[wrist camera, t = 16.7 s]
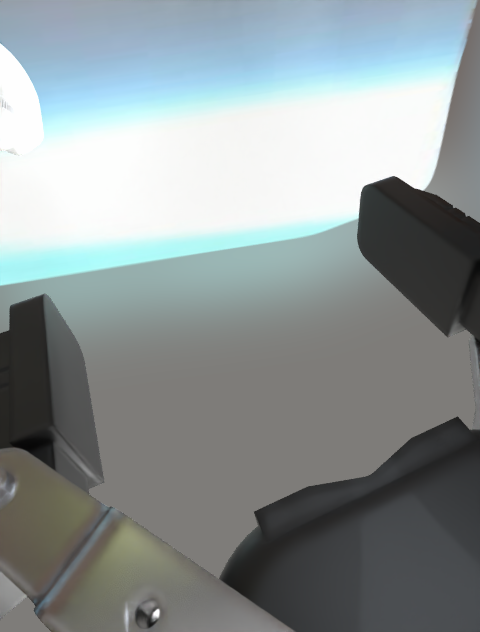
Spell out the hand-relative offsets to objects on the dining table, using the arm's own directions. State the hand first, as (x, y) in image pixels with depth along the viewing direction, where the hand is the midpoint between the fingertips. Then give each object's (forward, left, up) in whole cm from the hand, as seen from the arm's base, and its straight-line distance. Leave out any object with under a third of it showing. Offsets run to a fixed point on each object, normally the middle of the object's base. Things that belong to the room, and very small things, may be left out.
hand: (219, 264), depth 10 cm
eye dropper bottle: (+5, -4, -28) cm, 29 cm away
